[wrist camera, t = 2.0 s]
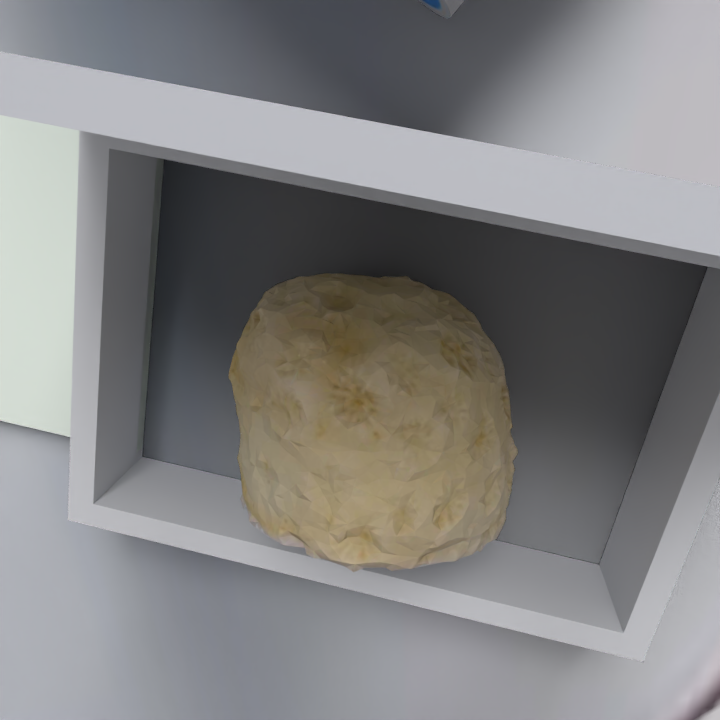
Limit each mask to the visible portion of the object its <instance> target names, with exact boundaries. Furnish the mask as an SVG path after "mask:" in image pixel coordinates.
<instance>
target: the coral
mask: <svg viewBox="0 0 720 720" xmlns="http://www.w3.org/2000/svg"><path fill="white" fill-rule="evenodd" d="M228 378H229V379H230V381H231V383H232V387H233V395H234V399H235V402H236V413H237V416H238V418H239V427H240V433H241V437H240V446H239V453H238V457H237V459H238V463H239V467H240V473H241V485H242V496H241V498H240V500H241V503H242V506H243V509H244V507H245V505H246V508H247V511H248V516H249V521H250V523H251V524H252V525H253V526H254V527H256V528H257V529H258V530H260V531H261V532H263V533H264V534H266V535H267V536H268V537H270V538H271V539H273V540H275V541H277V542H279V543H281V544H282V545H285V546H294V547H302V548H305V550H306V554H307V555H309V556H311V557H313V558H316V559H323V560H326V561H329V562H332V563H335V564H338V565H341V566H344V567H347V568H348V569H349V570H351V571H352V572H355V571H358V570H360V569H363V568H387V569H389V570H391V571H396V570H403V569H414V568H417V567H421V566H426V565H431V564H436V563H440V562H452V561H457V560H459V559H461V558H463V557H466V556H469V555H472V554H474V553H475V552H476V551H479V552H481V550H482V549H483V548H484V546H485V545H486V544H487V543H489V542H491V541H493V540H495V539H497V537H498V535H499V534H500V532H501V530H502V527H503V525H504V523H505V521H506V508H507V507H508V505H509V497H510V494H511V491H512V489H511V486H512V479H513V474H514V471H515V468H514V465H513V460H514V459H515V457H516V456H517V454H518V450H517V448H516V446H515V445H514V441H513V438H512V436H511V431H510V430H511V428H512V427H513V426H512V421H511V409H510V398H509V390H508V388H507V385H506V378H505V371H504V365H503V362H502V359H501V357H500V354H499V352H498V351H497V350H496V348H495V345H494V344H493V342H492V341H491V339H490V338H489V337H488V336H487V335H486V334H485V332H484V331H483V330H482V327H481V324H480V323H479V321H478V320H477V318H476V316H475V315H474V314H473V313H472V312H470V311H469V310H468V309H466V308H465V307H464V306H463V305H462V304H461V303H459V302H458V301H457V300H456V299H455V298H454V297H452V296H451V295H450V294H448V293H445V292H442V291H437V290H433V289H431V288H429V287H428V286H426V285H425V284H423V283H421V282H416V281H412V280H411V279H410V278H409V277H408V276H400V277H387V276H383V277H381V278H376V277H370V276H364V275H348V274H342V273H338V274H329V273H325V274H318V275H314V276H305V277H296V278H294V279H291V280H287V281H284V282H282V283H278V284H277V285H275V286H274V287H272V288H271V289H269V290H268V291H266V292H264V294H263V297H262V298H261V300H260V301H259V302H258V305H257V307H256V308H255V309H254V310H253V311H252V312H251V315H250V318H249V320H248V322H247V324H246V326H245V328H244V329H243V332H242V335H241V337H240V339H239V341H238V342H237V344H236V350H235V353H234V355H233V358H232V362H231V366H230V370H229V376H228Z"/></svg>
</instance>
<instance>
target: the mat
mask: <svg viewBox="0 0 720 720" xmlns="http://www.w3.org/2000/svg"><path fill="white" fill-rule="evenodd" d="M160 159H161V158H157V163H156V167H157V169H156V171H157V172H156V173H158V174H159V175H158V174H156V178H155V192H154V207H153V215H154V216H155V217H156V218H155V217H154V218H153V219H155V220H156V221H157V225H156V224H154V225H152V227H153V228H154V227H155V225H156V227H157V229H156V230H157V231H156V230H155V228H156V227H155V228H154V230H153V228H152V231H153V232H154V233H153V232H152V234H154V237H155V239H156V240H155V239H154V240H155V241H156V242H154V244H151V245H155V246H153V247H154V248H155V250H154V251H155V253H154V251H153V250H152V249H154V248H153V247H152V249H151V250H152V251H153V253H152V251H150V253H151V256H152V254H153V256H152V257H153V258H154V259H153V258H152V257H151V258H152V259H151V258H150V259H151V262H150V264H149V265H151V264H153V267H152V266H151V268H152V269H153V268H154V269H153V271H152V272H151V271H149V273H150V274H151V273H153V274H151V275H150V274H149V279H150V280H152V284H151V282H148V285H149V286H150V287H149V288H150V290H151V294H149V296H147V298H148V299H149V298H150V299H149V300H150V301H148V302H147V303H148V304H149V305H147V306H149V307H150V308H151V309H152V310H151V309H150V308H146V312H148V310H149V312H148V313H146V319H148V323H146V324H147V327H148V330H147V329H146V328H147V327H146V324H145V330H147V331H146V332H145V333H146V334H147V335H146V334H145V336H146V337H144V342H145V343H144V344H145V345H144V347H145V346H146V345H147V346H146V348H145V349H146V350H145V352H146V353H145V352H144V351H143V358H144V356H145V358H144V359H145V360H143V361H144V362H145V364H144V365H143V366H142V367H143V368H144V369H143V370H144V372H143V375H142V376H143V378H142V380H143V379H144V380H143V381H141V384H142V382H143V384H142V385H141V386H142V387H141V392H142V393H141V394H140V398H141V399H140V401H141V403H140V407H141V408H140V412H139V413H140V414H139V415H140V417H139V418H140V419H141V420H139V423H138V424H139V425H138V426H139V428H138V437H140V438H137V452H138V451H139V450H140V449H141V448H142V447H143V439H144V425H145V417H144V416H145V412H146V407H145V406H146V398H147V384H148V371H149V357H150V343H151V336H150V335H151V330H150V329H152V327H151V326H152V322H151V321H152V316H153V308H152V307H153V306H152V305H153V302H154V301H153V300H154V298H153V297H154V294H153V293H154V288H155V278H154V277H155V275H156V274H155V273H156V267H155V266H156V261H157V251H156V250H157V247H158V234H157V233H159V232H158V231H159V220H160V206H161V192H162V179H163V171H162V170H163V165H164V163H163V162H164V159H161V160H160ZM162 160H163V161H162ZM78 163H79V130H74V129H69V128H64V127H59V126H54V125H49V124H44V123H39V122H34V121H29V120H23V119H18V118H13V117H8V116H3V115H0V421H4V422H8V423H13V424H17V425H21V426H25V427H30V428H34V429H38V430H42V431H47V432H51V433H55V434H59V435H63V436H68V437H70V428H71V395H72V362H73V329H74V295H75V262H76V229H77V196H78ZM162 164H163V165H162ZM157 165H158V166H157ZM161 165H162V168H161ZM161 169H162V170H161ZM160 171H162V175H161V173H160ZM159 176H160V177H159ZM158 177H159V178H158ZM159 179H160V180H159ZM158 180H159V181H160V184H161V187H160V186H159V184H158V183H157V182H159V181H158ZM157 185H158V189H159V187H160V189H159V190H158V189H157ZM157 190H158V191H159V193H158V191H157ZM157 193H158V194H157ZM156 195H157V196H156ZM159 195H160V197H158V196H159ZM157 197H158V198H159V203H157V202H158V198H157ZM156 198H157V199H156ZM156 204H157V205H156ZM158 204H159V205H158ZM155 205H156V206H159V207H156V206H155ZM155 207H156V208H155ZM157 208H158V210H159V211H158V210H157ZM155 210H156V211H155ZM154 213H157V214H156V215H157V216H156V215H155V214H154ZM157 217H158V219H157ZM155 220H154V221H152V224H153V223H154V222H155ZM155 232H156V233H155ZM151 236H152V238H151V240H152V239H153V238H154V237H153V235H151ZM154 240H152V241H154ZM152 241H151V242H152ZM152 243H153V242H152ZM155 258H156V259H155ZM153 261H154V262H153ZM152 262H153V263H152ZM149 268H150V266H149ZM151 268H150V269H151ZM150 269H149V270H150ZM152 269H151V270H152ZM149 279H148V281H149ZM153 279H154V280H153ZM150 284H151V285H152V286H153V287H152V286H151V285H150ZM149 288H148V290H149ZM150 290H149V291H148V292H149V293H150ZM147 295H148V293H147ZM150 296H151V297H150ZM148 299H147V300H148ZM147 309H148V310H147ZM148 314H149V315H148ZM147 316H148V317H149V318H148V317H147ZM150 320H151V321H150ZM146 322H147V320H146ZM147 336H148V338H147ZM146 338H147V339H146ZM146 340H147V341H146ZM144 353H145V355H144ZM146 365H147V366H146ZM143 370H142V371H143ZM145 380H146V381H145ZM144 383H145V384H144ZM143 387H144V388H143ZM141 395H142V397H141ZM144 397H145V398H144ZM143 401H144V402H145V403H144V402H143ZM143 405H144V406H143ZM143 408H144V409H143ZM142 418H143V419H142ZM143 423H144V424H143ZM140 424H141V425H140ZM140 440H141V441H140ZM141 445H142V446H141ZM137 452H136V453H137Z"/></svg>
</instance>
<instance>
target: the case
mask: <svg viewBox="0 0 720 720" xmlns="http://www.w3.org/2000/svg"><path fill="white" fill-rule="evenodd" d="M0 115H3V116H8V117H13V118H18V119H23V120H29V121H34V122H39V123H44V124H49V125H54V126H59V127H64V128H69V129H74V130H79V163H78V196H77V229H76V262H75V295H74V329H73V362H72V395H71V428H70V461H69V494H68V520H69V521H73V522H77V523H81V524H85V525H89V526H93V527H97V528H101V529H105V530H109V531H113V532H118V533H122V534H126V535H130V536H134V537H138V538H142V539H146V540H150V541H154V542H158V543H162V544H166V545H170V546H174V547H178V548H182V549H186V550H190V551H195V552H199V553H203V554H207V555H211V556H215V557H219V558H223V559H227V560H231V561H235V562H239V563H243V564H247V565H251V566H255V567H259V568H263V569H267V570H272V571H276V572H280V573H284V574H288V575H292V576H296V577H300V578H304V579H308V580H312V581H316V582H320V583H324V584H328V585H332V586H336V587H340V588H344V589H348V590H353V591H357V592H361V593H365V594H369V595H373V596H377V597H381V598H385V599H389V600H393V601H397V602H401V603H405V604H409V605H413V606H417V607H421V608H425V609H430V610H434V611H438V612H442V613H446V614H450V615H454V616H458V617H462V618H466V619H470V620H474V621H478V622H482V623H486V624H490V625H494V626H498V627H502V628H506V629H511V630H515V631H519V632H523V633H527V634H531V635H535V636H539V637H543V638H547V639H551V640H555V641H559V642H563V643H567V644H571V645H575V646H579V647H583V648H588V649H592V650H596V651H600V652H604V653H608V654H612V655H616V656H620V657H624V658H628V659H632V660H636V661H640V662H643V661H644V658H645V656H646V654H647V651H648V649H649V646H650V644H651V642H652V639H653V637H654V634H655V632H656V630H657V627H658V625H659V623H660V620H661V618H662V615H663V613H664V611H665V608H666V606H667V603H668V601H669V599H670V596H671V594H672V591H673V589H674V587H675V584H676V582H677V580H678V577H679V575H680V572H681V570H682V568H683V565H684V563H685V560H686V558H687V556H688V553H689V551H690V548H691V546H692V544H693V541H694V539H695V536H696V534H697V532H698V529H699V527H700V525H701V522H702V520H703V517H704V515H705V513H706V510H707V508H708V505H709V503H710V501H711V498H712V496H713V493H714V491H715V489H716V486H717V484H718V481H719V479H720V187H719V186H714V185H708V184H703V183H698V182H692V181H687V180H682V179H676V178H671V177H666V176H660V175H655V174H650V173H644V172H639V171H634V170H628V169H623V168H618V167H612V166H607V165H602V164H597V163H591V162H586V161H581V160H575V159H570V158H565V157H559V156H554V155H549V154H543V153H538V152H533V151H527V150H522V149H517V148H511V147H506V146H501V145H495V144H490V143H485V142H479V141H474V140H469V139H463V138H458V137H453V136H447V135H442V134H437V133H432V132H426V131H421V130H416V129H410V128H405V127H400V126H394V125H389V124H384V123H378V122H373V121H368V120H362V119H357V118H352V117H346V116H341V115H336V114H330V113H325V112H320V111H314V110H309V109H304V108H298V107H293V106H288V105H283V104H277V103H272V102H267V101H261V100H256V99H251V98H245V97H240V96H235V95H229V94H224V93H219V92H213V91H208V90H203V89H197V88H192V87H187V86H181V85H176V84H171V83H165V82H160V81H155V80H149V79H144V78H139V77H133V76H128V75H123V74H118V73H112V72H107V71H102V70H96V69H91V68H86V67H80V66H75V65H70V64H64V63H59V62H54V61H48V60H43V59H38V58H32V57H27V56H22V55H16V54H11V53H6V52H0ZM157 158H161V159H166V160H171V161H176V162H181V163H186V164H191V165H196V166H201V167H207V168H212V169H217V170H222V171H227V172H232V173H237V174H242V175H247V176H252V177H257V178H262V179H267V180H272V181H277V182H282V183H287V184H293V185H298V186H303V187H308V188H313V189H318V190H323V191H328V192H333V193H338V194H343V195H348V196H353V197H358V198H363V199H368V200H373V201H378V202H384V203H389V204H394V205H399V206H404V207H409V208H414V209H419V210H424V211H429V212H434V213H439V214H444V215H449V216H454V217H459V218H464V219H470V220H475V221H480V222H485V223H490V224H495V225H500V226H505V227H510V228H515V229H520V230H525V231H530V232H535V233H540V234H545V235H550V236H556V237H561V238H566V239H571V240H576V241H581V242H586V243H591V244H596V245H601V246H606V247H611V248H616V249H621V250H626V251H631V252H636V253H642V254H647V255H652V256H657V257H662V258H667V259H672V260H677V261H682V262H687V263H692V264H697V265H702V266H707V267H708V268H707V271H706V274H705V276H704V279H703V282H702V285H701V287H700V290H699V293H698V295H697V298H696V301H695V304H694V306H693V309H692V312H691V315H690V317H689V320H688V323H687V326H686V328H685V331H684V334H683V337H682V339H681V342H680V345H679V348H678V350H677V353H676V356H675V358H674V361H673V364H672V367H671V369H670V372H669V375H668V378H667V380H666V383H665V386H664V389H663V391H662V394H661V397H660V400H659V402H658V405H657V408H656V411H655V413H654V416H653V419H652V421H651V424H650V427H649V430H648V432H647V435H646V438H645V441H644V443H643V446H642V449H641V452H640V454H639V457H638V460H637V463H636V465H635V468H634V471H633V473H632V476H631V479H630V482H629V484H628V487H627V490H626V493H625V495H624V498H623V501H622V504H621V506H620V509H619V512H618V515H617V517H616V520H615V523H614V526H613V528H612V531H611V534H610V536H609V539H608V542H607V545H606V547H605V550H604V553H603V556H602V558H601V561H600V564H599V565H598V564H594V563H590V562H586V561H581V560H577V559H573V558H569V557H565V556H560V555H556V554H552V553H548V552H543V551H539V550H535V549H531V548H526V547H522V546H518V545H514V544H510V543H505V542H501V541H497V540H493V541H491V542H489V543H487V544H486V545H485V546H484V548H483V549H482V550H481V552H479V551H476V552H475V553H474V554H472V555H469V556H466V557H463V558H461V559H459V560H457V561H452V562H440V563H436V564H431V565H426V566H421V567H417V568H414V569H403V570H396V571H391V570H389V569H387V568H363V569H360V570H358V571H355V572H352V571H351V570H349V569H348V568H347V567H344V566H341V565H338V564H335V563H332V562H329V561H326V560H323V559H316V558H313V557H311V556H309V555H307V554H306V550H305V548H302V547H294V546H285V545H282V544H281V543H279V542H277V541H275V540H273V539H271V538H270V537H268V536H267V535H266V534H264V533H263V532H261V531H260V530H258V529H257V528H256V527H254V526H253V525H252V524H251V523H250V521H249V516H248V511H247V508H246V505H245V507H244V509H243V506H242V503H241V500H240V498H241V496H242V485H241V480H239V479H235V478H230V477H226V476H222V475H218V474H213V473H209V472H205V471H201V470H196V469H192V468H188V467H184V466H179V465H175V464H171V463H167V462H163V461H158V460H154V459H150V458H146V457H142V453H143V447H142V448H141V449H140V450H139V451H138V452H137V438H140V437H138V428H139V426H138V425H139V424H138V423H139V420H141V419H140V418H139V417H140V415H139V414H140V413H139V412H140V408H141V407H140V403H141V401H140V399H141V398H140V394H141V393H142V392H141V387H142V386H141V385H142V384H143V382H142V384H141V381H143V380H144V379H143V380H142V378H143V376H142V375H143V372H144V370H143V369H144V368H143V367H142V366H143V365H144V364H145V362H144V361H143V360H145V359H144V358H145V356H144V358H143V351H144V352H145V350H146V349H145V348H146V346H147V345H146V346H145V347H144V345H145V344H144V343H145V342H144V337H146V336H145V334H146V333H145V332H146V331H147V330H148V327H147V324H146V323H148V319H146V313H148V312H149V310H148V309H147V310H148V312H146V308H150V307H149V306H147V305H149V304H148V303H147V302H148V301H150V300H149V299H150V298H149V299H148V298H147V296H149V294H151V290H150V288H149V287H150V286H149V285H148V282H151V284H152V280H150V279H149V274H150V273H149V271H151V272H152V271H153V269H154V268H153V269H152V268H151V266H152V267H153V264H151V265H149V264H150V262H151V259H152V258H153V257H152V256H153V254H152V256H151V253H150V251H152V250H153V251H154V250H155V248H154V247H153V246H155V245H151V244H154V242H156V241H155V240H156V239H155V237H154V234H152V232H153V231H152V228H153V227H152V225H154V224H156V225H157V221H156V220H155V219H153V218H154V217H155V216H154V215H153V207H154V192H155V178H156V174H158V173H156V172H157V171H156V169H157V167H156V163H157ZM161 159H160V160H161ZM162 161H163V160H162ZM163 163H164V162H163ZM162 165H163V164H162ZM162 165H161V168H162ZM157 166H158V165H157ZM161 170H162V169H161ZM162 171H163V170H162ZM162 171H160V173H161V175H162ZM158 175H159V174H158ZM159 177H160V176H159ZM159 177H158V178H159ZM159 180H160V179H159ZM159 180H158V181H159ZM157 183H158V184H159V186H160V187H161V184H160V181H159V182H157ZM160 187H159V189H160ZM157 189H158V185H157ZM159 189H158V190H159ZM158 190H157V191H158ZM158 193H159V191H158ZM158 193H157V194H158ZM156 196H157V195H156ZM158 197H160V195H159V196H158ZM158 197H157V198H158ZM157 198H156V199H157ZM157 203H159V198H158V202H157ZM156 205H157V204H156ZM156 205H155V206H156ZM158 205H159V204H158ZM156 207H159V206H156ZM156 207H155V208H156ZM157 210H158V208H157ZM155 211H156V210H155ZM158 211H159V210H158ZM154 214H155V215H156V214H157V213H154ZM156 216H157V215H156ZM155 218H156V217H155ZM157 219H158V217H157ZM154 220H155V222H154V223H153V224H152V221H154ZM156 225H155V227H156ZM155 227H154V228H155ZM154 228H153V230H154ZM156 229H157V227H156V228H155V230H156ZM156 231H157V230H156ZM158 232H159V231H158ZM153 233H154V232H153ZM155 233H156V232H155ZM157 234H158V233H157ZM151 235H153V237H154V238H153V239H152V240H154V239H155V240H154V241H152V240H151V238H152V236H151ZM151 241H152V242H153V243H152V242H151ZM152 247H153V248H154V249H152ZM151 249H152V250H151ZM153 251H152V253H153ZM156 251H157V250H156ZM154 253H155V251H154ZM151 257H152V258H151ZM150 258H151V259H150ZM153 259H154V258H153ZM155 259H156V258H155ZM153 262H154V261H153ZM153 262H152V263H153ZM149 266H150V268H151V269H152V270H151V269H150V268H149ZM155 267H156V266H155ZM149 269H150V270H149ZM151 274H153V273H151ZM151 274H150V275H151ZM155 274H156V273H155ZM154 278H155V277H154ZM148 279H149V281H148ZM153 280H154V279H153ZM151 284H150V285H151ZM151 286H152V285H151ZM152 287H153V286H152ZM148 288H149V290H150V293H149V292H148V291H149V290H148ZM147 293H148V295H147ZM153 294H154V293H153ZM150 297H151V296H150ZM153 298H154V297H153ZM147 299H148V300H147ZM153 301H154V300H153ZM152 306H153V305H152ZM152 308H153V307H152ZM150 309H151V308H150ZM151 310H152V309H151ZM148 315H149V314H148ZM147 317H148V316H147ZM148 318H149V317H148ZM146 320H147V322H146ZM150 321H151V320H150ZM151 322H152V321H151ZM145 324H146V327H147V328H146V329H147V330H145ZM151 327H152V326H151ZM150 330H151V329H150ZM146 335H147V334H146ZM150 336H151V335H150ZM147 338H148V336H147ZM147 338H146V339H147ZM146 341H147V340H146ZM145 353H146V352H145ZM145 353H144V355H145ZM146 366H147V365H146ZM142 370H143V371H142ZM145 381H146V380H145ZM144 384H145V383H144ZM143 388H144V387H143ZM141 397H142V395H141ZM144 398H145V397H144ZM143 402H144V401H143ZM144 403H145V402H144ZM143 406H144V405H143ZM145 407H146V406H145ZM143 409H144V408H143ZM144 417H145V416H144ZM142 419H143V418H142ZM143 424H144V423H143ZM140 425H141V424H140ZM140 441H141V440H140ZM141 446H142V445H141ZM136 452H137V453H136Z"/></svg>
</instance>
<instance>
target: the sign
mask: <svg viewBox="0 0 720 720" xmlns="http://www.w3.org/2000/svg"><path fill="white" fill-rule="evenodd" d="M418 1H419V2H420V3H422V4H423V5H424V6H426V7H427V8H428V9H430V10H431V11H433V12H434V13H436V14H438V15H439V16H441V17H444V18H447V19H449V18H451V16H452V15H453V14H454V13H455V12H456V10H457V9H458V8H459V7H460V6H461V4H462V3H463V2H464V1H465V0H418Z"/></svg>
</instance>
